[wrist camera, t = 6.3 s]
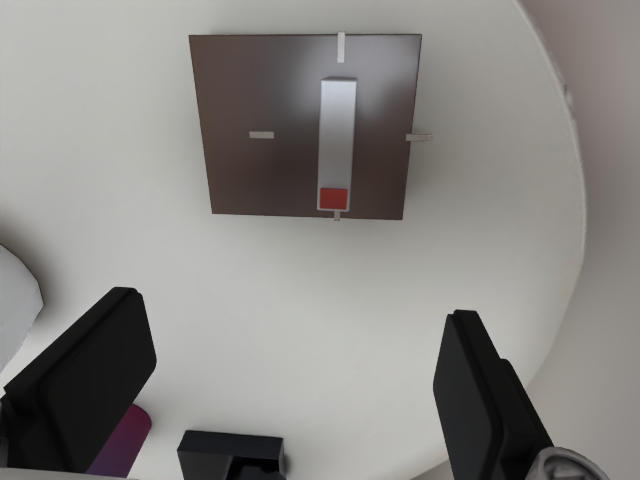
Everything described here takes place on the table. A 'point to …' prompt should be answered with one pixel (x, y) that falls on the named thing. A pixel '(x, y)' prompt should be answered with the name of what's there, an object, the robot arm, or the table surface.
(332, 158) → the grey rectangular block
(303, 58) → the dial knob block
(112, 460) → the cup
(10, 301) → the vase
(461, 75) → the table surface
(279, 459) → the button box
